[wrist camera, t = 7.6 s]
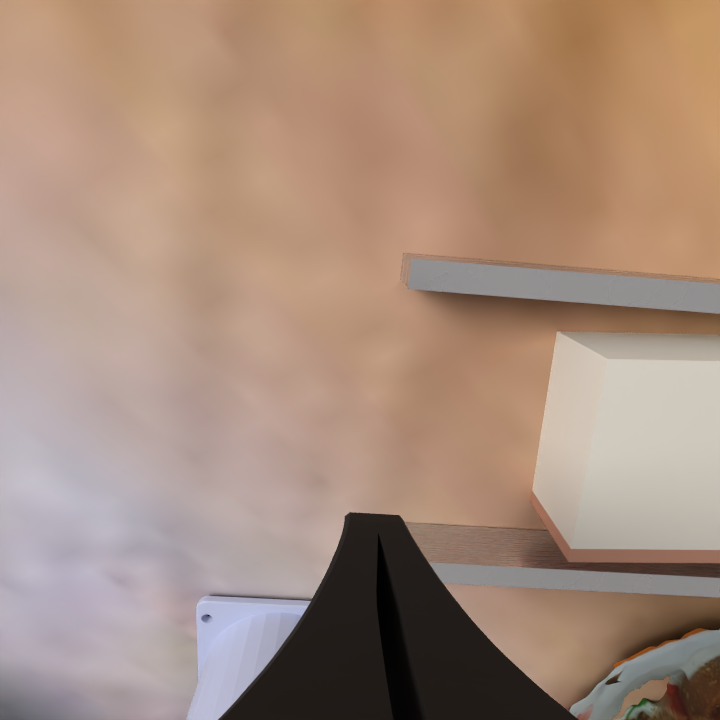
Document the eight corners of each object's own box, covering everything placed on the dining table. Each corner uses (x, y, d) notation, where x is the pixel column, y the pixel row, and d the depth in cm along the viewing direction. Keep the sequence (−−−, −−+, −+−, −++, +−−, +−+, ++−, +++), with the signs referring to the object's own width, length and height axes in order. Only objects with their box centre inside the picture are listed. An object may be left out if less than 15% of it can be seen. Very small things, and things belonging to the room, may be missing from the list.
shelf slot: (784, 561, 22) (1014, 743, 14) (372, 539, 21) (385, 719, 14) (900, 294, 18) (1293, 348, 11) (403, 253, 17) (444, 280, 10)
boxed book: (783, 502, 21) (877, 564, 18) (529, 499, 21) (568, 562, 17) (841, 335, 19) (964, 365, 15) (555, 330, 19) (607, 359, 15)
